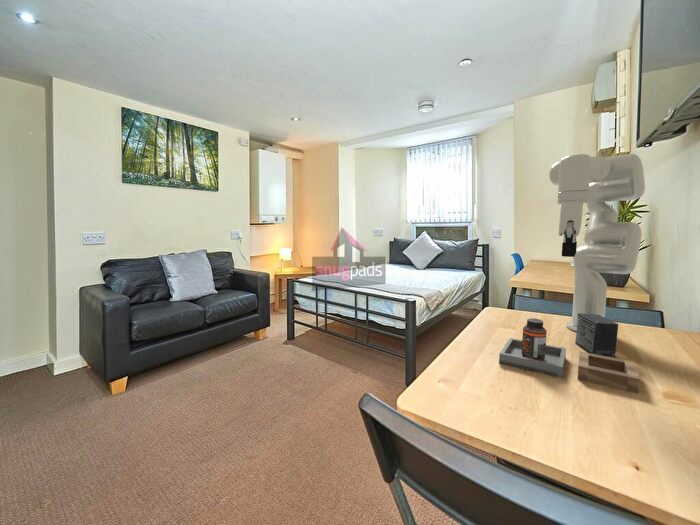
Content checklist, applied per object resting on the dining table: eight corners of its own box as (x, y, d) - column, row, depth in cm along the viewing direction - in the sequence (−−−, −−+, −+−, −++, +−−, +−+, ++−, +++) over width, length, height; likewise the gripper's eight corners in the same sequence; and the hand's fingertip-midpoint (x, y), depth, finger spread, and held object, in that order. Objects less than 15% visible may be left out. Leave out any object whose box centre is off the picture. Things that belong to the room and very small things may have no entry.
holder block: (578, 363, 88) (579, 351, 87) (633, 374, 81) (634, 361, 80) (577, 379, 79) (578, 366, 78) (638, 393, 72) (639, 379, 71)
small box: (617, 357, 91) (620, 323, 89) (592, 356, 92) (595, 322, 91) (596, 344, 101) (599, 313, 100) (574, 343, 102) (576, 312, 101)
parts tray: (509, 346, 100) (510, 337, 100) (565, 358, 91) (565, 348, 91) (499, 363, 88) (499, 353, 88) (561, 378, 79) (562, 367, 79)
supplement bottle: (516, 353, 92) (518, 317, 91) (535, 352, 93) (537, 316, 91) (530, 362, 86) (532, 323, 85) (550, 361, 87) (552, 322, 85)
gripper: (559, 200, 100) (556, 252, 102) (555, 197, 87) (551, 257, 89) (588, 199, 96) (584, 253, 98) (588, 195, 82) (584, 258, 84)
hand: (569, 255), depth 93 cm, fingers open, 9 cm apart
